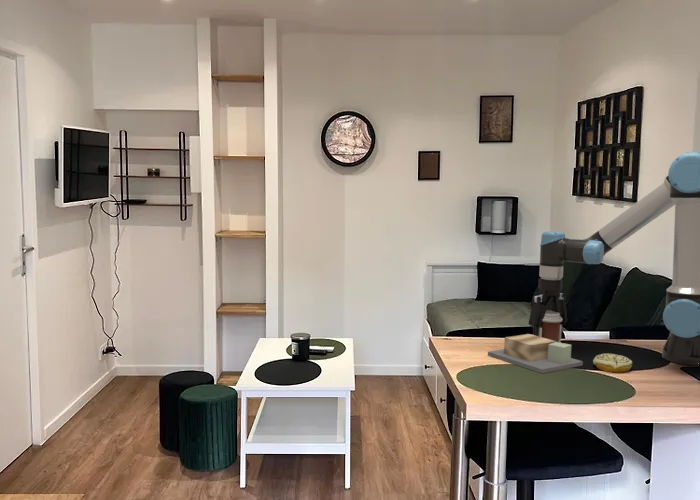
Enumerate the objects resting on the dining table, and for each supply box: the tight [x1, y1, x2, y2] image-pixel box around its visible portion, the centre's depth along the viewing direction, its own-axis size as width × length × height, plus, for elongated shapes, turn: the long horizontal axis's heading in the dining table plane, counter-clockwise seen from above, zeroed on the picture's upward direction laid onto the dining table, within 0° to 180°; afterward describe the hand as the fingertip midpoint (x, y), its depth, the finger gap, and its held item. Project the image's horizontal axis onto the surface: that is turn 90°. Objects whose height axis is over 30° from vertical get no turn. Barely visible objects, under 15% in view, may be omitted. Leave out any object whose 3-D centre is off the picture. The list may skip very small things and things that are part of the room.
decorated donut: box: [592, 353, 633, 374], centre depth 197 cm, size 10×11×4 cm
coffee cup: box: [537, 309, 563, 342], centre depth 219 cm, size 9×9×12 cm
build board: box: [487, 348, 584, 374], centre depth 204 cm, size 22×18×1 cm
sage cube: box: [548, 342, 572, 364], centre depth 199 cm, size 5×5×5 cm
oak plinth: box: [503, 333, 556, 361], centre depth 205 cm, size 11×11×5 cm
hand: (546, 344), depth 220 cm, fingers closed on coffee cup, 9 cm apart
